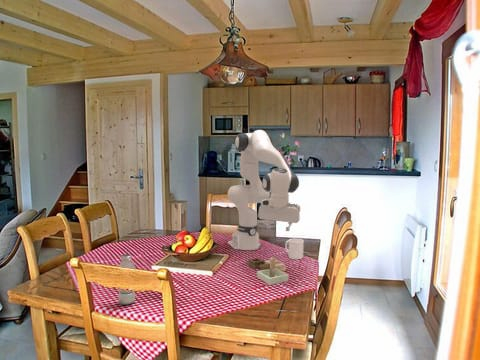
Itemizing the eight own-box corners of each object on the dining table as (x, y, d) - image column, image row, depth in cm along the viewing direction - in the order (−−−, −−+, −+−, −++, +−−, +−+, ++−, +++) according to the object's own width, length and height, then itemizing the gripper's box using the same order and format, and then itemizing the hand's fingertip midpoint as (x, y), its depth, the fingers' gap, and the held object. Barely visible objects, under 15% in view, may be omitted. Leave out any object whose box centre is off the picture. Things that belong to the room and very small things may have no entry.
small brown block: (259, 270, 196) (259, 265, 195) (266, 269, 198) (266, 263, 197) (263, 273, 192) (263, 267, 192) (270, 271, 194) (270, 266, 194)
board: (264, 268, 200) (264, 260, 200) (275, 266, 203) (275, 259, 203) (274, 274, 191) (274, 266, 191) (285, 272, 194) (286, 265, 194)
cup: (296, 260, 213) (297, 243, 212) (280, 255, 221) (281, 238, 220) (305, 257, 218) (306, 240, 217) (289, 253, 227) (290, 236, 226)
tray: (256, 277, 186) (256, 271, 186) (275, 273, 191) (275, 267, 191) (269, 285, 176) (269, 278, 176) (288, 281, 182) (288, 275, 182)
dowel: (269, 278, 183) (270, 258, 182) (269, 277, 185) (270, 257, 184) (274, 279, 182) (275, 259, 181) (275, 277, 185) (275, 257, 184)
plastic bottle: (120, 299, 158) (119, 252, 155) (136, 299, 158) (136, 252, 156) (116, 306, 151) (115, 257, 149) (133, 306, 152) (133, 257, 150)
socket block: (248, 266, 202) (248, 259, 201) (257, 264, 204) (258, 257, 204) (254, 270, 196) (254, 262, 196) (263, 268, 199) (264, 260, 199)
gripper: (301, 202, 183) (300, 230, 185) (261, 199, 191) (260, 225, 193) (298, 205, 178) (297, 233, 179) (257, 201, 185) (256, 228, 187)
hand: (278, 229), depth 186 cm, fingers open, 8 cm apart
